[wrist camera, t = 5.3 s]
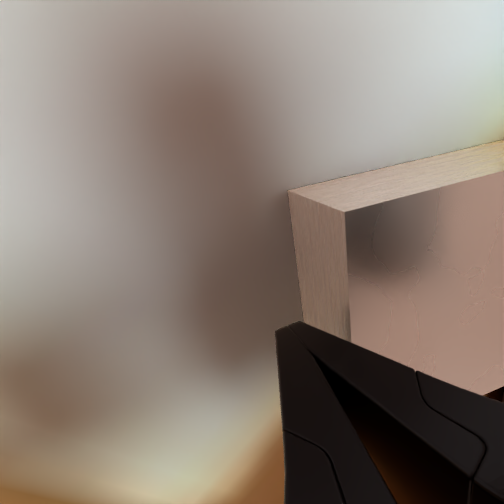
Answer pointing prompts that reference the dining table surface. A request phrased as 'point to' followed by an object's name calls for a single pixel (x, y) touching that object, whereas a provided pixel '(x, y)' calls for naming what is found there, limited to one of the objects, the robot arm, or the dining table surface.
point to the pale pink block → (411, 263)
